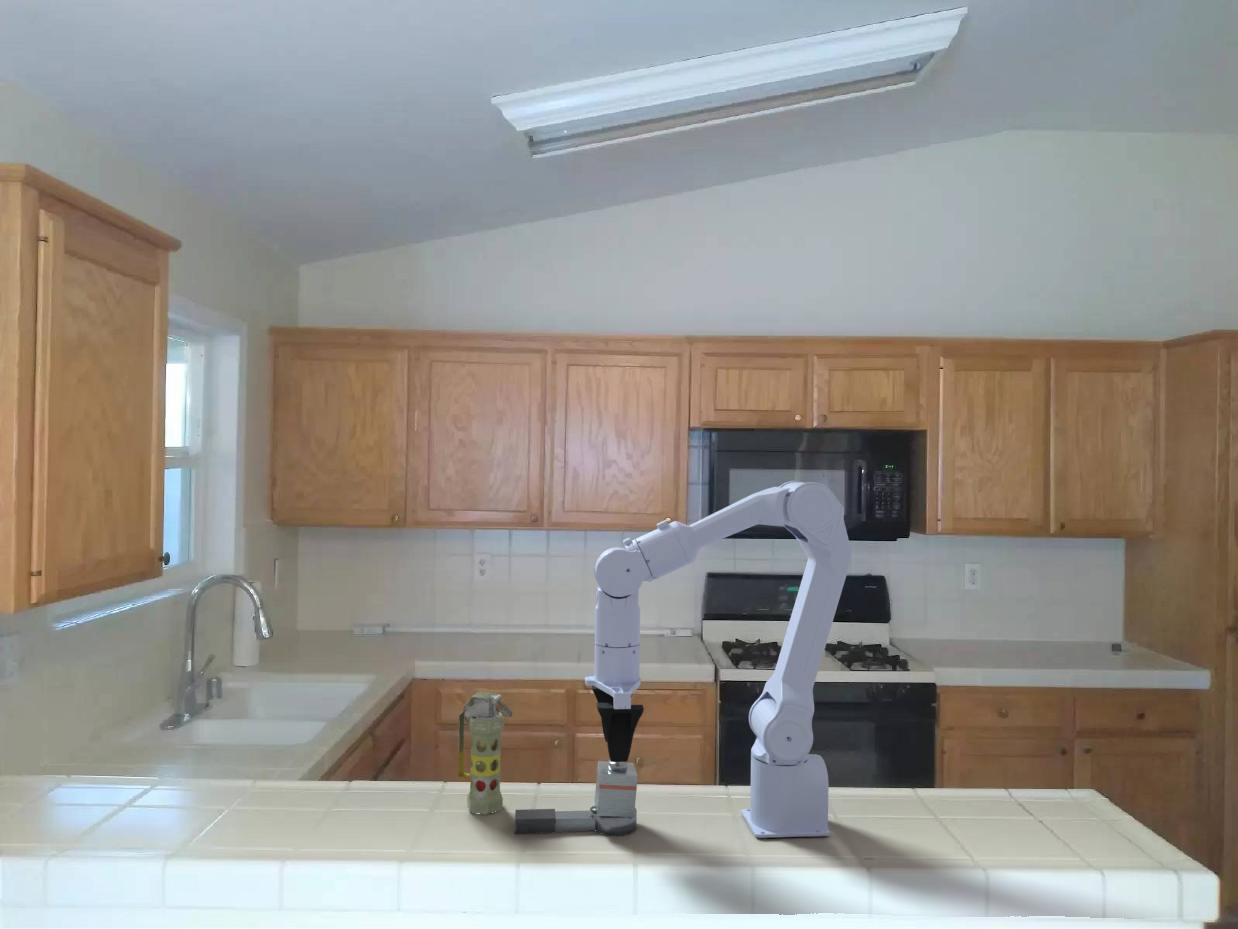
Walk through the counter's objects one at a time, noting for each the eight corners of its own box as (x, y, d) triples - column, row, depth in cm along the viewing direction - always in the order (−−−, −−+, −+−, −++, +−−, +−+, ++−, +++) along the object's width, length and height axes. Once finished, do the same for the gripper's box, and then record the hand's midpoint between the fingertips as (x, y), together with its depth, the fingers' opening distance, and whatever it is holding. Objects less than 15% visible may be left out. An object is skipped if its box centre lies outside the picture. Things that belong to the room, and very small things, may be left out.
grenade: (498, 816, 111) (500, 700, 112) (449, 811, 113) (451, 697, 113) (513, 798, 118) (515, 688, 118) (467, 793, 119) (469, 685, 119)
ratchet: (633, 816, 112) (634, 782, 112) (639, 835, 106) (639, 798, 106) (515, 819, 111) (516, 784, 111) (514, 838, 105) (515, 801, 105)
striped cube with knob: (629, 803, 112) (634, 756, 112) (634, 817, 107) (638, 769, 107) (594, 801, 111) (598, 754, 111) (596, 815, 106) (601, 767, 106)
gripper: (582, 632, 116) (581, 733, 116) (589, 656, 101) (588, 771, 101) (634, 632, 117) (633, 732, 117) (648, 655, 102) (647, 770, 102)
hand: (615, 750), depth 109 cm, fingers open, 7 cm apart
